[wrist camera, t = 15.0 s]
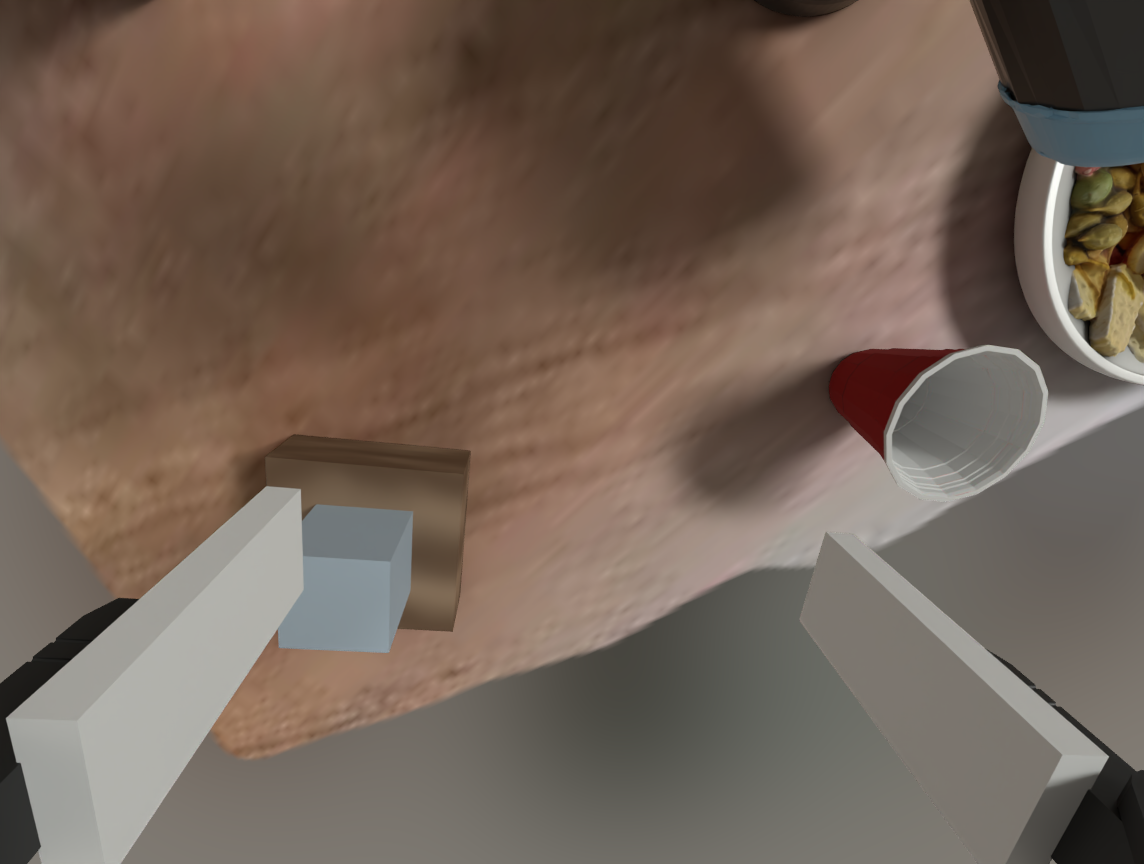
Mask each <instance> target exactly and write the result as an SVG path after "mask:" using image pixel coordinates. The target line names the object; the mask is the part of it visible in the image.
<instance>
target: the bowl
mask: <svg viewBox="0 0 1144 864" xmlns="http://www.w3.org/2000/svg"><path fill="white" fill-rule="evenodd" d="M1014 250H1015V260H1016V267H1017V272H1018V277H1019V281H1020V285H1021V288H1022V291H1023V294H1024V297H1025V299H1026V301H1027V304H1028V306H1029V308H1030V310H1031V312H1032V314H1033V316H1034V317H1035V319H1036V321H1037V322H1038V324H1039V325H1040V327H1041V328H1042V329H1043V331H1044V332H1045V333H1046V334H1047V336H1048V337H1049V338H1050V339H1051V340H1052V341H1053V342H1054V343H1055V344H1056V345H1057V346H1058V347H1059V348H1060V349H1061V350H1063V351H1064V352H1065V353H1066V354H1068V355H1069V356H1070V357H1072V358H1073V359H1074V360H1076V361H1078V362H1079V363H1081V364H1083V365H1084V366H1086V367H1088V368H1090V369H1092V370H1094V371H1096V372H1099V373H1101V374H1104V375H1106V376H1109V377H1112V378H1115V379H1118V380H1122V381H1126V382H1130V383H1135V384H1140V385H1144V163H1138V164H1132V165H1124V166H1113V167H1079V166H1069V165H1064V164H1061V163H1059V162H1057V161H1056V160H1053V159H1050V158H1047V157H1044V156H1041V155H1040V154H1038V153H1037V152H1036V151H1035V150H1034V149H1033V148H1032V149H1031V152H1030V154H1029V157H1028V160H1027V163H1026V166H1025V170H1024V173H1023V176H1022V180H1021V184H1020V189H1019V194H1018V199H1017V205H1016V213H1015V224H1014Z"/></svg>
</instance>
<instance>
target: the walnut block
mask: <svg viewBox="0 0 1144 864" xmlns="http://www.w3.org/2000/svg"><path fill="white" fill-rule="evenodd" d="M470 453H471V451H468V450H457V449H446V448H435V447H424V446H413V445H403V444H392V443H381V442H370V441H359V440H348V439H337V438H326V437H315V436H304V435H293V436H291V437H290V438H289V439H287V440H286V441H285V442H284V443H282V444H281V445H280V446H278V447H277V448H276V449H275V450H273V451H272V452H271V453H269V454H268V455H267V456H265V469H266V486H270V487H282V488H295V489H301V513H302V520H303V519H304V518H305V517H306V516H307V515H308V513H309V512H310V511H311V510H312V509H313V507H314V506H315V505H316V504H319V505H333V506H346V507H360V508H374V509H388V510H402V511H413V528H412V559H411V589H410V594H409V596H408V599H407V602H406V605H405V608H404V611H403V614H402V616H401V619H400V622H399V625H398V628H397V629H415V630H433V631H451V632H453V627H454V622H455V618H456V613H457V608H458V603H459V598H460V589H461V575H462V562H463V548H464V535H465V521H466V507H467V494H468V480H469V466H470Z"/></svg>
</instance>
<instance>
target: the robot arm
mask: <svg viewBox="0 0 1144 864" xmlns="http://www.w3.org/2000/svg"><path fill="white" fill-rule="evenodd" d="M755 1H756V2H758V3H759V4H761V5H763V6H765V7H767V8H769V9H771V10H773V11H776V12H779V13H783V14H787V15H793V16H817V15H823V14H827V13H831V12H834V11H837V10H840V9H842V8H845V7H847V6H849V5H851V4H853V3H854V2H856V1H858V0H755ZM970 3H971V5H972V8H973V11H974V13H975V16H976V19H977V21H978V24H979V26H980V29H981V32H982V34H983V37H984V40H985V42H986V45H987V47H988V50H989V53H990V55H991V58H992V61H993V63H994V66H995V68H996V71H997V74H998V76H999V79H1000V80H999V83H998V89H999V92H1000V95H1001V97H1002V98H1003V100H1004V101H1005V102H1006V103H1007V104H1008V105H1009V106H1011V107H1012V108H1013V110H1014V112H1015V114H1016V116H1017V118H1018V120H1019V123H1020V125H1021V127H1022V129H1023V131H1024V134H1025V136H1026V138H1027V140H1028V142H1029V144H1030V145H1031V147H1032V148H1033V149H1034V150H1035V151H1036V152H1037V153H1038V154H1040V155H1041V156H1044V157H1047V158H1050V159H1053V160H1056V161H1057V162H1059V163H1061V164H1064V165H1069V166H1079V167H1113V166H1124V165H1132V164H1138V163H1144V0H970ZM303 590H304V581H303V547H302V513H301V489H295V488H282V487H270V486H266V487H265V488H264V489H263V490H262V491H261V492H259V493H258V494H257V495H256V496H255V497H254V498H253V499H252V500H250V501H249V502H248V503H247V504H246V505H245V506H244V507H243V508H241V509H240V510H239V511H238V512H237V513H236V514H235V515H234V516H232V517H231V518H230V519H229V520H228V521H227V522H226V523H225V524H223V525H222V526H221V527H220V528H219V529H218V530H217V531H216V532H214V533H213V534H212V535H211V536H210V537H209V538H208V539H207V540H205V541H204V542H203V543H202V544H201V545H200V546H199V547H198V548H197V549H195V550H194V551H193V552H192V553H191V554H190V555H189V556H188V557H186V558H185V559H184V560H183V561H182V562H181V563H180V564H179V565H177V566H176V567H175V568H174V569H173V570H172V571H171V572H170V573H168V574H167V575H166V576H165V577H164V578H163V579H162V580H161V581H159V582H158V583H157V584H156V585H155V586H154V587H153V588H152V589H150V590H149V591H148V592H147V593H146V594H145V595H144V596H143V597H141V598H140V599H128V598H118V599H116V600H114V601H112V602H110V603H108V604H106V605H104V606H102V607H100V608H98V609H96V610H94V611H92V612H90V613H88V614H86V615H84V616H83V617H81V618H80V619H79V620H78V621H76V622H75V623H74V624H73V625H71V626H70V627H69V628H68V629H67V630H65V631H64V632H63V633H62V634H60V635H59V636H58V637H57V638H56V641H55V642H54V643H50V644H48V645H47V646H46V647H45V648H43V649H42V650H41V651H40V652H38V653H37V654H36V655H35V656H33V660H32V661H31V662H26V663H25V664H24V665H22V666H21V667H20V668H19V669H17V670H16V671H15V672H14V673H13V674H11V675H10V676H9V677H8V678H6V679H5V680H4V681H3V682H2V683H0V864H27V863H28V862H29V861H30V860H31V858H32V857H33V856H34V855H35V854H36V852H37V851H39V856H40V860H41V863H42V864H121V862H122V860H123V859H124V857H125V856H126V854H127V853H128V852H129V850H130V848H131V847H132V846H133V844H134V843H135V841H136V840H137V838H138V837H139V835H140V834H141V832H142V831H143V829H144V828H145V826H146V824H147V823H148V822H149V820H150V818H151V817H152V816H153V814H154V813H155V811H156V810H157V808H158V807H159V805H160V804H161V802H162V801H163V799H164V798H165V796H166V795H167V793H168V792H169V790H170V789H171V787H172V786H173V784H174V783H175V781H176V780H177V778H178V777H179V775H180V774H181V772H182V771H183V769H184V768H185V766H186V765H187V763H188V762H189V760H190V759H191V757H192V756H193V754H194V753H195V751H196V750H197V748H198V747H199V745H200V744H201V742H202V741H203V739H204V738H205V736H206V735H207V734H208V732H209V731H210V729H211V728H212V726H213V725H214V723H215V722H216V720H217V719H218V717H219V716H220V714H221V713H222V711H223V710H224V708H225V707H226V705H227V704H228V702H229V701H230V699H231V698H232V696H233V695H234V693H235V692H236V690H237V689H238V687H239V686H240V684H241V683H242V681H243V680H244V678H245V677H246V675H247V674H248V672H249V671H250V669H251V668H252V666H253V665H254V663H255V662H256V660H257V659H258V657H259V656H260V654H261V653H262V651H263V650H264V648H265V647H266V645H267V644H268V642H269V641H270V639H271V638H272V636H273V635H274V633H275V632H276V630H277V629H278V627H279V626H280V624H281V623H282V621H283V620H284V618H285V617H286V615H287V614H288V612H289V611H290V609H291V608H292V606H293V605H294V603H295V602H296V600H297V599H298V597H299V596H300V594H301V593H302V592H303ZM799 621H800V622H801V623H802V625H803V626H804V627H805V629H806V630H807V632H808V633H809V634H810V635H811V637H812V638H813V640H814V641H815V643H816V644H817V645H818V646H819V648H820V649H821V651H822V652H823V653H824V655H825V656H826V657H827V659H828V660H829V662H830V663H831V664H832V665H833V667H834V668H835V670H836V671H837V672H838V674H839V675H840V677H841V678H842V679H843V681H844V682H845V683H846V685H847V686H848V688H849V689H850V690H851V691H852V693H853V694H854V696H855V697H856V699H857V700H858V701H859V702H860V704H861V705H862V707H863V708H864V709H865V711H866V712H867V714H868V715H869V716H870V718H871V719H872V720H873V722H874V723H875V725H876V726H877V727H878V729H879V730H880V731H881V733H882V734H883V735H884V737H885V738H886V740H887V741H888V742H889V743H890V745H891V746H892V748H893V749H894V750H895V752H896V753H897V755H898V756H899V757H900V759H901V760H902V761H903V763H904V764H905V765H906V767H907V768H908V770H909V771H910V772H911V774H912V775H913V776H914V778H915V779H916V781H917V782H918V783H919V784H920V786H921V787H922V789H923V790H924V791H925V793H926V794H927V795H928V797H929V798H930V799H931V801H932V802H933V804H934V805H935V806H936V808H937V809H938V811H939V812H940V813H941V815H942V816H943V817H944V819H945V820H946V821H947V823H948V824H949V826H950V827H951V828H952V830H953V831H954V832H955V834H956V835H957V837H959V839H960V841H961V842H962V843H963V845H964V846H965V847H966V849H967V850H968V851H969V853H970V854H971V855H972V857H973V858H974V860H975V861H976V863H977V864H1049V863H1050V861H1051V860H1052V859H1053V860H1054V861H1055V862H1056V863H1057V864H1144V770H1140V771H1138V772H1136V771H1135V770H1134V769H1133V768H1132V767H1131V766H1129V765H1128V764H1127V763H1126V762H1125V761H1123V760H1122V759H1121V758H1120V757H1119V756H1117V754H1115V753H1114V752H1113V751H1112V750H1111V749H1109V748H1108V747H1107V746H1106V745H1105V744H1104V743H1102V742H1101V741H1100V740H1099V739H1098V738H1096V737H1095V736H1094V735H1093V734H1092V733H1091V732H1090V731H1088V730H1087V729H1086V728H1085V727H1084V726H1082V725H1081V724H1080V723H1079V722H1078V721H1077V720H1076V719H1074V718H1073V717H1072V716H1071V715H1070V714H1069V713H1067V712H1066V711H1065V710H1064V709H1063V708H1062V707H1057V706H1056V704H1055V703H1056V702H1055V701H1053V700H1052V699H1051V698H1050V697H1049V696H1048V695H1046V694H1045V693H1044V692H1043V691H1042V690H1041V689H1036V687H1035V685H1034V683H1032V682H1031V681H1030V680H1029V679H1028V678H1027V677H1025V676H1024V675H1023V674H1022V673H1021V672H1020V671H1018V670H1017V669H1016V668H1015V667H1014V666H1013V665H1011V664H1010V663H1008V662H1007V661H1005V660H1003V659H1001V658H1000V657H998V656H997V655H995V654H993V653H992V652H990V651H989V650H987V649H985V648H984V647H983V646H981V645H980V644H979V643H978V642H977V641H976V640H974V639H973V638H972V637H971V636H970V635H969V634H968V633H966V632H965V631H964V630H963V629H962V628H961V627H960V626H959V625H957V624H956V623H955V622H954V621H953V620H952V619H950V618H949V617H948V616H947V615H946V614H945V613H943V612H942V611H941V610H940V609H939V608H938V607H937V606H935V605H934V604H933V603H932V602H931V601H930V600H929V599H928V598H926V597H925V596H924V595H923V594H922V593H921V592H919V591H918V590H917V589H916V588H915V587H914V586H913V585H911V584H910V583H909V582H908V581H907V580H906V579H905V578H903V577H902V576H901V575H900V574H899V573H898V572H897V571H895V570H894V569H893V568H892V567H891V566H890V565H888V564H887V563H886V562H885V561H884V560H883V559H882V558H880V557H879V556H878V555H877V554H876V553H875V552H874V551H872V550H871V549H870V548H869V547H868V546H867V545H866V544H864V543H863V542H862V541H861V540H860V539H859V538H857V537H856V536H855V535H854V534H850V533H837V532H826V533H825V536H824V539H823V543H822V546H821V549H820V553H819V556H818V559H817V563H816V566H815V569H814V573H813V576H812V579H811V583H810V586H809V589H808V592H807V596H806V599H805V602H804V606H803V609H802V612H801V616H800V619H799Z"/></svg>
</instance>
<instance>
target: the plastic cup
mask: <svg viewBox="0 0 1144 864" xmlns="http://www.w3.org/2000/svg"><path fill="white" fill-rule="evenodd" d="M829 395H830V399H831V401H832V403H833V404H834V406H835V408H836V409H837V411H838V413H840V414H841V415H842V416H843V417H844V418H845V419H846V420H847V421H848V422H849V423H850V425H851V426H852V427H853V428H854V429H855V430H856V431H857V432H858V433H859V434H860V435H861V436H862V437H863V438H864V439H865V440H866V441H867V442H868V443H869V444H870V445H871V446H872V447H873V448H874V449H875V450H876V451H877V452H878V453H879V454H880V455H881V456H882V458H883V459H884V461H885V463H886V465H887V467H888V469H889V470H890V472H891V474H892V476H893V478H894V480H895V482H896V483H897V485H898V486H899V487H900V488H902V489H904V490H905V491H907V492H908V493H910V494H912V495H913V496H915V497H916V498H918V499H920V500H930V501H941V502H949V501H953V500H957V499H961V498H964V497H968V496H972V495H976V494H978V493H980V492H981V491H983V490H985V489H986V488H988V487H990V486H991V485H993V484H994V483H996V482H998V481H999V480H1001V479H1003V478H1004V477H1006V476H1007V475H1008V474H1009V473H1010V472H1011V470H1012V469H1013V468H1014V467H1015V466H1016V465H1017V464H1018V463H1019V462H1020V461H1021V460H1022V459H1023V458H1024V457H1025V456H1026V455H1027V453H1028V452H1029V451H1030V449H1031V447H1032V445H1033V443H1034V441H1035V440H1036V438H1037V436H1038V434H1039V432H1040V430H1041V428H1042V426H1043V424H1044V422H1045V414H1046V406H1047V398H1048V389H1047V387H1046V384H1045V381H1044V378H1043V375H1042V372H1041V369H1040V366H1039V365H1037V364H1036V363H1035V362H1034V361H1032V360H1031V359H1030V358H1029V357H1027V356H1026V355H1025V354H1024V353H1022V352H1021V351H1020V350H1019V349H1013V348H1006V347H999V346H993V345H980V346H976V347H972V348H969V349H958V350H953V349H945V350H924V349H896V348H892V349H888V350H886V349H869V350H864V351H860V352H857V353H853V354H851V355H850V356H848V357H847V358H845V359H844V360H842V361H841V362H840V364H839V365H838V366H837V368H836V369H835V370H834V372H833V373H832V376H831V380H830V383H829Z"/></svg>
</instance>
